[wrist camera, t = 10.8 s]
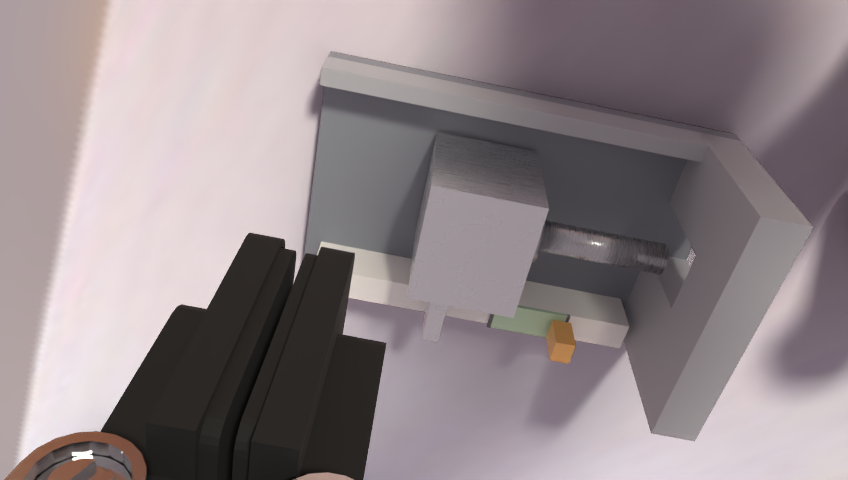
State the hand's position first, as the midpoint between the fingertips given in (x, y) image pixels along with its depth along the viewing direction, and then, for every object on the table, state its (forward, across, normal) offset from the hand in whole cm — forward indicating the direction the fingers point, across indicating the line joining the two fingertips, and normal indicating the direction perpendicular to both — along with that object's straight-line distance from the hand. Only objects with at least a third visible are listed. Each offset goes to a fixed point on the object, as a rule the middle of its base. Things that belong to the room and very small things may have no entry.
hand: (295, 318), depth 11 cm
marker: (+26, -12, +19) cm, 34 cm away
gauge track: (+31, -8, +13) cm, 34 cm away
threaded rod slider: (+29, -10, +14) cm, 34 cm away
